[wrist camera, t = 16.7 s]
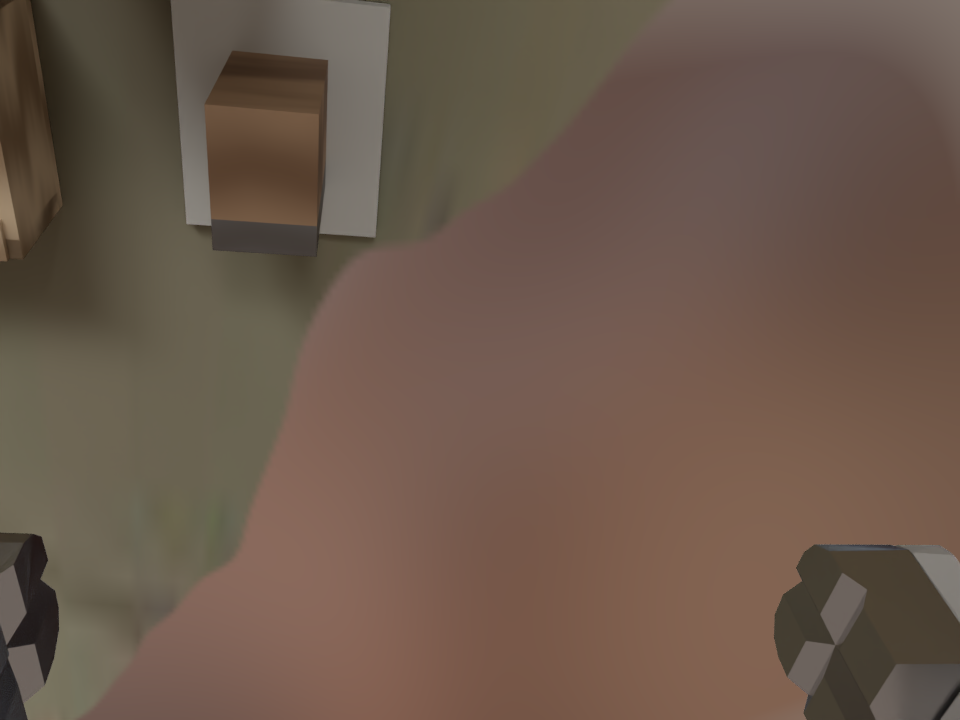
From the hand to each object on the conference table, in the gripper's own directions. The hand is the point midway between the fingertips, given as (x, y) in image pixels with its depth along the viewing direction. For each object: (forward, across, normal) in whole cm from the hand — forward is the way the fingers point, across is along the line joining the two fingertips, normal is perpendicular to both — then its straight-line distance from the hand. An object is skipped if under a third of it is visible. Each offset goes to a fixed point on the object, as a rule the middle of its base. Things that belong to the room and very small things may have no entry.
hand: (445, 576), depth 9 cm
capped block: (+36, +5, +8) cm, 37 cm away
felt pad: (+37, +5, +8) cm, 38 cm away
